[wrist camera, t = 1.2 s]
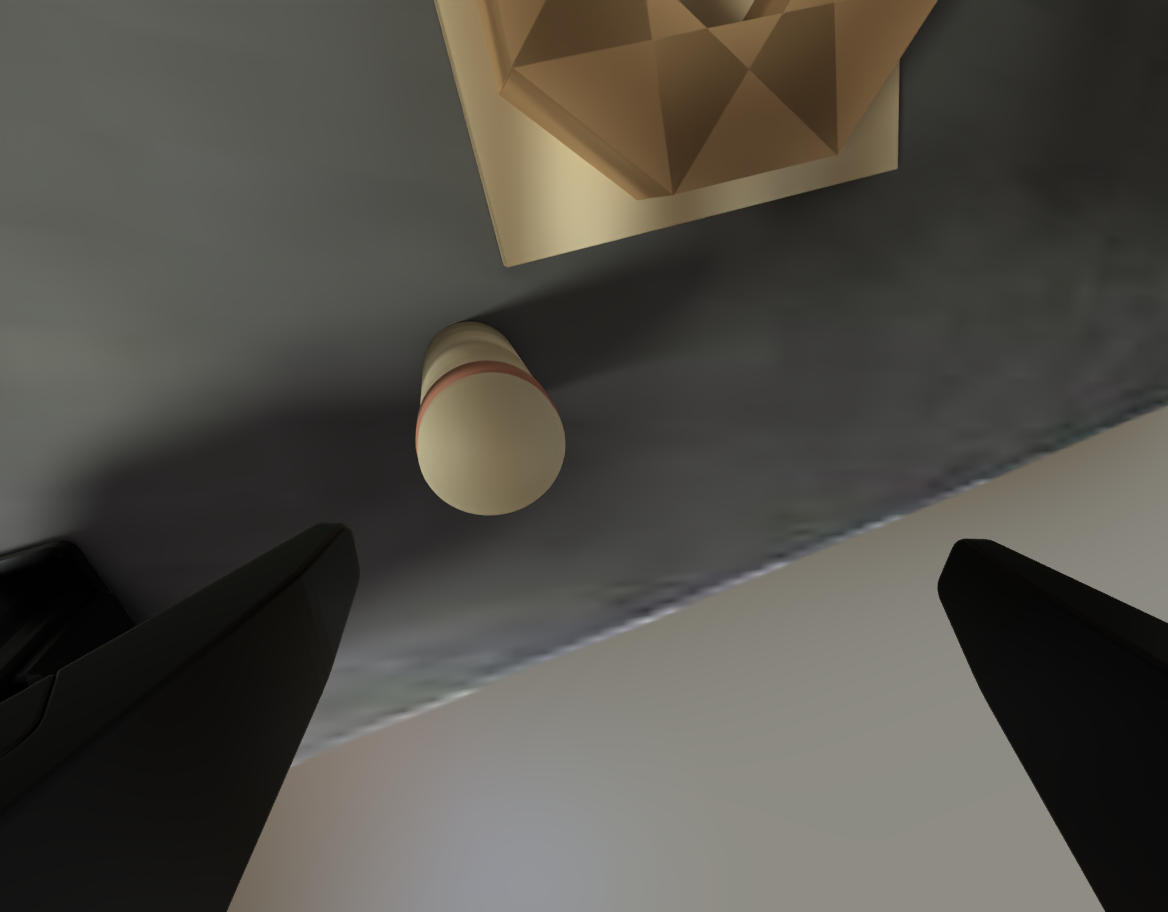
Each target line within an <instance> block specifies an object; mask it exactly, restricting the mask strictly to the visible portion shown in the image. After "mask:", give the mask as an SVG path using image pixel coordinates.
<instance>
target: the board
mask: <svg viewBox="0 0 1168 912" xmlns="http://www.w3.org/2000/svg"><path fill="white" fill-rule="evenodd" d="M679 1H680V2H681V3H682V4H683V5H684V6H685V7H686V8H687V9H688V10H689V11H690V12H691V13H692V14H693V15H694V16H695V17H696V18H697V19H698V20H699V21H700V22H701V23H702V24H703V25H704V26H705V27H706V28H712V27H717V26H721V25H726V24H731V23H736V22H741V21H743V19H744V17H745V16H746V14H747V12H748V11H749V9H750V7H751V5H752V4H753V2H754V0H679ZM434 2H435V6H436V10H437V14H438V17H439V21H440V25H441V29H442V33H443V36H444V40H445V44H446V48H447V52H448V55H449V59H450V63H451V67H452V71H453V74H454V78H455V82H456V86H457V90H458V93H459V97H460V101H461V105H462V109H463V112H464V116H465V120H466V124H467V127H468V131H469V135H470V139H471V143H472V146H473V150H474V154H475V158H476V162H477V165H478V169H479V173H480V177H481V181H482V184H483V188H484V192H485V196H486V200H487V203H488V207H489V211H490V215H491V219H492V222H493V226H494V230H495V234H496V238H497V241H498V245H499V249H500V253H501V257H502V260H503V264H504V266H506V267H511V266H515V265H519V264H523V263H527V262H531V261H535V260H539V259H543V258H547V257H551V256H555V255H559V254H562V253H566V252H570V251H574V250H578V249H582V248H586V247H590V246H594V245H598V244H602V243H606V242H610V241H614V240H618V239H622V238H626V237H630V236H634V235H638V234H642V233H646V232H650V231H654V230H657V229H661V228H665V227H669V226H673V225H677V224H681V223H685V222H689V221H693V220H697V219H701V218H705V217H709V216H713V215H717V214H721V213H725V212H729V211H733V210H737V209H741V208H745V207H749V206H752V205H756V204H760V203H764V202H768V201H772V200H776V199H780V198H784V197H788V196H792V195H796V194H800V193H804V192H808V191H812V190H816V189H820V188H824V187H828V186H832V185H836V184H840V183H844V182H847V181H851V180H855V179H859V178H863V177H867V176H871V175H875V174H879V173H883V172H887V171H891V170H895V169H898V116H899V61H898V62H897V64H896V65H895V67H894V68H893V70H892V72H891V73H890V75H889V76H888V78H887V79H886V81H885V82H884V84H883V85H882V87H881V88H880V90H879V92H878V93H877V95H876V96H875V98H874V99H873V101H872V102H871V104H870V105H869V107H868V109H867V110H866V112H865V113H864V115H863V116H862V118H861V119H860V121H859V122H858V124H857V125H856V127H855V129H854V130H853V132H852V133H851V135H850V136H849V138H848V139H847V141H846V142H845V144H844V145H843V147H842V149H841V150H840V152H839V153H838V155H836V156H830V157H826V158H822V159H818V160H814V161H810V162H806V163H802V164H798V165H794V166H789V167H785V168H781V169H777V170H773V171H769V172H765V173H761V174H757V175H753V176H749V177H745V178H740V179H736V180H732V181H728V182H724V183H720V184H716V185H712V186H708V187H704V188H700V189H695V190H691V191H687V192H683V193H679V194H675V195H672V196H665V197H658V198H651V199H644V200H636V199H635V198H633V197H632V196H631V195H630V194H628V193H627V192H626V191H624V190H623V189H622V188H620V187H619V186H618V185H616V184H615V183H614V182H613V181H611V180H610V179H609V178H607V177H606V176H605V175H603V174H602V173H601V172H599V171H598V170H597V169H596V168H594V167H593V166H592V165H590V164H589V163H588V162H586V161H585V160H584V159H582V158H581V157H580V156H578V155H577V154H576V153H575V152H573V151H572V150H571V149H569V148H568V147H567V146H565V145H564V144H563V143H561V142H560V141H559V140H558V139H556V138H555V137H554V136H552V135H551V134H550V133H548V132H547V131H546V130H544V129H543V128H542V127H541V126H539V125H538V124H537V123H535V122H534V121H533V120H531V119H530V118H529V117H527V116H526V115H525V114H524V113H522V112H521V111H520V110H518V109H517V108H516V107H514V106H513V105H512V104H510V103H509V102H508V101H506V100H505V99H504V98H503V97H501V96H500V95H499V93H498V89H497V85H496V80H495V76H494V72H493V68H492V64H491V59H490V55H489V51H488V47H487V43H486V38H485V34H484V30H483V26H482V22H481V17H480V13H479V9H478V5H477V1H476V0H434Z"/></svg>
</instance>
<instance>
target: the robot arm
mask: <svg viewBox="0 0 1168 912" xmlns="http://www.w3.org/2000/svg"><path fill="white" fill-rule="evenodd" d="M54 554H60V555H62V556H63V557H64V558H65V559H66V561H62V560H59V559H57V558H56V557H55V555H54ZM359 575H360V569H359V563H358V558H357V553H356V548H355V543H354V539H353V534H352V530H351V528H350V527H349V526H348V525H347V524H345V523H318V524H316V525H314V526H312V527H311V528H309V529H307V530H305V531H304V532H302V533H300V534H298V535H297V536H295V537H293V538H291V539H290V540H288V541H286V542H284V543H282V544H281V545H279V546H277V547H275V548H274V549H272V550H270V551H268V552H267V553H265V554H263V555H261V556H260V557H258V558H256V559H254V560H252V561H251V562H249V563H247V564H245V565H244V566H242V567H240V568H238V569H237V570H235V571H233V572H231V573H229V574H228V575H226V576H224V577H222V578H221V579H219V580H217V581H215V582H214V583H212V584H210V585H208V586H207V587H205V588H203V589H201V590H199V591H198V592H196V593H194V594H192V595H191V596H189V597H187V598H185V599H184V600H182V601H180V602H178V603H176V604H175V605H173V606H171V607H169V608H168V609H166V610H164V611H162V612H161V613H159V614H157V615H155V616H154V617H152V618H150V619H148V620H146V621H145V622H143V623H141V624H139V625H138V626H136V625H135V624H134V622H133V621H132V619H131V618H130V617H129V615H128V614H127V612H126V611H125V609H124V608H123V607H122V605H121V604H120V602H119V601H118V600H117V598H116V597H115V595H114V594H112V593H111V592H110V591H109V589H108V588H107V586H106V585H105V584H104V582H103V581H102V579H101V578H100V576H99V575H98V574H97V572H96V571H95V569H94V568H93V567H92V565H91V564H90V562H89V561H88V560H87V558H86V557H85V555H84V554H83V553H82V551H81V550H80V549H79V548H78V547H77V546H76V545H75V544H73V543H71V542H68V541H54V542H51V543H47V544H44V545H40V546H37V547H33V548H30V549H26V550H23V551H19V552H16V553H13V554H9V555H6V556H2V557H0V912H227V910H228V908H229V905H230V903H231V901H232V898H233V896H234V894H235V892H236V889H237V887H238V885H239V883H240V880H241V878H242V876H243V873H244V871H245V869H246V867H247V864H248V862H249V860H250V857H251V855H252V853H253V851H254V848H255V846H256V844H257V841H258V839H259V837H260V835H261V832H262V830H263V828H264V825H265V823H266V821H267V819H268V816H269V814H270V812H271V809H272V807H273V805H274V802H275V800H276V798H277V796H278V793H279V791H280V789H281V787H282V784H283V782H284V780H285V777H286V775H287V773H288V770H289V768H290V766H291V764H292V761H293V759H294V757H295V754H296V752H297V750H298V748H299V745H300V743H301V741H302V738H303V736H304V734H305V732H306V729H307V727H308V725H309V722H310V720H311V718H312V716H313V713H314V711H315V709H316V706H317V704H318V702H319V700H320V697H321V695H322V693H323V690H324V688H325V685H326V683H327V680H328V678H329V675H330V672H331V669H332V666H333V663H334V661H335V657H336V654H337V651H338V648H339V644H340V641H341V638H342V635H343V631H344V628H345V625H346V622H347V618H348V615H349V612H350V609H351V605H352V602H353V599H354V596H355V592H356V589H357V586H358V582H359ZM938 595H939V598H940V601H941V603H942V605H943V607H944V609H945V612H946V614H947V617H948V619H949V621H950V623H951V626H952V627H953V630H954V632H955V635H956V637H957V639H958V641H959V644H960V646H961V648H962V650H963V653H964V655H965V657H966V659H967V662H968V664H969V666H970V668H971V671H972V673H973V675H974V677H975V679H976V681H977V684H978V686H979V688H980V690H981V692H982V694H983V696H984V697H985V699H986V701H987V703H988V705H989V707H990V709H991V710H992V712H993V714H994V715H995V718H996V719H997V721H998V723H999V725H1000V726H1001V728H1002V730H1003V732H1004V733H1005V735H1006V737H1007V739H1008V741H1009V742H1010V744H1011V746H1012V748H1013V749H1014V751H1015V753H1016V755H1017V756H1018V758H1019V760H1020V762H1021V763H1022V765H1023V767H1024V769H1025V771H1026V772H1027V774H1028V776H1029V778H1030V779H1031V781H1032V783H1033V785H1034V787H1035V788H1036V790H1037V792H1038V793H1039V795H1040V797H1041V799H1042V801H1043V802H1044V804H1045V806H1046V808H1047V810H1048V811H1049V813H1050V815H1051V817H1052V818H1053V820H1054V822H1055V824H1056V825H1057V827H1058V829H1059V831H1060V833H1061V834H1062V836H1063V838H1064V839H1065V841H1066V843H1067V845H1068V847H1069V848H1070V850H1071V852H1072V854H1073V855H1074V857H1075V859H1076V861H1077V863H1078V864H1079V866H1080V868H1081V870H1082V871H1083V873H1084V875H1085V877H1086V879H1087V880H1088V882H1089V884H1090V886H1091V887H1092V889H1093V891H1094V893H1095V894H1096V896H1097V898H1098V900H1099V902H1100V903H1101V905H1102V907H1103V909H1104V910H1105V912H1168V623H1166V622H1164V621H1162V620H1160V619H1158V618H1156V617H1154V616H1151V615H1149V614H1147V613H1145V612H1143V611H1141V610H1139V609H1136V608H1135V607H1132V606H1130V605H1128V604H1126V603H1124V602H1122V601H1120V600H1117V599H1115V598H1113V597H1111V596H1109V595H1107V594H1105V593H1103V592H1101V591H1098V590H1096V589H1094V588H1092V587H1090V586H1088V585H1086V584H1084V583H1081V582H1079V581H1077V580H1075V579H1073V578H1071V577H1069V576H1066V575H1064V574H1062V573H1060V572H1058V571H1056V570H1054V569H1051V568H1050V567H1047V566H1045V565H1043V564H1041V563H1039V562H1037V561H1035V560H1033V559H1030V558H1028V557H1026V556H1024V555H1022V554H1020V553H1018V552H1016V551H1013V550H1011V549H1009V548H1007V547H1005V546H1003V545H1001V544H998V543H996V542H994V541H992V540H987V539H962V540H959V541H957V542H956V543H955V544H954V546H953V547H952V550H951V552H950V554H949V557H948V559H947V561H946V564H945V566H944V568H943V571H942V573H941V575H940V578H939V581H938Z"/></svg>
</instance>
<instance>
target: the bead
mask: <svg viewBox="0 0 1168 912" xmlns="http://www.w3.org/2000/svg"><path fill="white" fill-rule="evenodd" d="M476 1H477V5H478V9H479V13H480V17H481V22H482V26H483V30H484V34H485V38H486V43H487V47H488V51H489V55H490V59H491V64H492V68H493V72H494V76H495V80H496V85H497V89H498V93H499V95H500V96H501V97H503V98H504V99H505V100H506V101H508V102H509V103H510V104H512V105H513V106H514V107H516V108H517V109H518V110H520V111H521V112H522V113H524V114H525V115H526V116H527V117H529V118H530V119H531V120H533V121H534V122H535V123H537V124H538V125H539V126H541V127H542V128H543V129H544V130H546V131H547V132H548V133H550V134H551V135H552V136H554V137H555V138H556V139H558V140H559V141H560V142H561V143H563V144H564V145H565V146H567V147H568V148H569V149H571V150H572V151H573V152H575V153H576V154H577V155H578V156H580V157H581V158H582V159H584V160H585V161H586V162H588V163H589V164H590V165H592V166H593V167H594V168H596V169H597V170H598V171H599V172H601V173H602V174H603V175H605V176H606V177H607V178H609V179H610V180H611V181H613V182H614V183H615V184H616V185H618V186H619V187H620V188H622V189H623V190H624V191H626V192H627V193H628V194H630V195H631V196H632V197H633V198H635V199H636V200H644V199H651V198H658V197H665V196H672V195H675V194H679V193H683V192H687V191H691V190H695V189H700V188H704V187H708V186H712V185H716V184H720V183H724V182H728V181H732V180H736V179H740V178H745V177H749V176H753V175H757V174H761V173H765V172H769V171H773V170H777V169H781V168H785V167H789V166H794V165H798V164H802V163H806V162H810V161H814V160H818V159H822V158H826V157H830V156H836V155H838V153H839V152H840V150H841V149H842V147H843V145H844V144H845V142H846V141H847V139H848V138H849V136H850V135H851V133H852V132H853V130H854V129H855V127H856V125H857V124H858V122H859V121H860V119H861V118H862V116H863V115H864V113H865V112H866V110H867V109H868V107H869V105H870V104H871V102H872V101H873V99H874V98H875V96H876V95H877V93H878V92H879V90H880V88H881V87H882V85H883V84H884V82H885V81H886V79H887V78H888V76H889V75H890V73H891V72H892V70H893V68H894V67H895V65H896V64H897V62H898V61H899V59H900V58H901V56H902V55H903V53H904V52H905V50H906V48H907V47H908V45H909V44H910V42H911V41H912V39H913V38H914V36H915V35H916V33H917V32H918V30H919V28H920V27H921V25H922V24H923V22H924V21H925V19H926V18H927V16H928V15H929V13H930V12H931V10H932V8H933V7H934V5H935V4H936V2H937V1H938V0H754V2H753V4H752V5H751V7H750V9H749V11H748V12H747V14H746V16H745V17H744V19H743V21H741V22H736V23H731V24H726V25H721V26H717V27H712V28H706V27H705V26H704V25H703V24H702V23H701V22H700V21H699V20H698V19H697V18H696V17H695V16H694V15H693V14H692V13H691V12H690V11H689V10H688V9H687V8H686V7H685V6H684V5H683V4H682V3H681V2H680V1H679V0H476Z"/></svg>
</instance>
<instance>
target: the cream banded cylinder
mask: <svg viewBox="0 0 1168 912" xmlns="http://www.w3.org/2000/svg"><path fill="white" fill-rule="evenodd" d="M416 451H417V456H418V461H419V465H420V468H421V472H422V474H423V476H424V478H425V480H426V482H427V483H428V485H429V486H430V488H431V489H432V490H433V491H434V492H435V493H436V495H438V496H439V497H440V498H441V499H442V500H443V501H445V502H446V503H448V504H449V505H451V506H453V507H455V508H457V509H459V510H462V511H465V512H467V513H472V514H476V515H501V514H506V513H510V512H514V511H517V510H519V509H522V508H524V507H526V506H528V505H530V504H531V503H533V502H534V501H536V500H537V499H538V498H539V497H541V496H542V495H543V494H544V493H545V492H546V491H547V490H548V489H549V488H550V486H551V485H552V484H553V482H554V481H555V479H556V477H557V475H558V474H559V472H560V469H561V467H562V464H563V460H564V456H565V434H564V429H563V425H562V422H561V419H560V416H559V413H558V411H557V409H556V407H555V405H554V403H553V402H552V400H551V399H550V397H549V396H548V395H547V393H546V392H545V390H544V389H543V387H542V386H541V385H540V384H539V383H538V382H537V380H536V379H534V378H533V376H532V375H531V373H530V372H529V371H528V369H527V368H526V366H525V365H524V363H523V362H522V360H521V359H520V357H519V356H518V354H517V353H516V351H515V350H514V348H513V347H512V346H511V344H510V343H509V341H508V340H507V339H506V337H505V336H504V335H503V334H501V333H500V332H499V331H498V330H496V329H495V328H493V327H491V326H489V325H486V324H483V323H479V322H470V321H469V322H460V323H456V324H453V325H450V326H448V327H446V328H445V329H443V330H442V331H440V332H439V333H438V334H437V335H436V336H435V337H434V338H433V339H432V341H431V342H430V344H429V345H428V348H427V350H426V353H425V356H424V362H423V375H422V389H421V402H420V409H419V412H418V417H417V426H416Z"/></svg>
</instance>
